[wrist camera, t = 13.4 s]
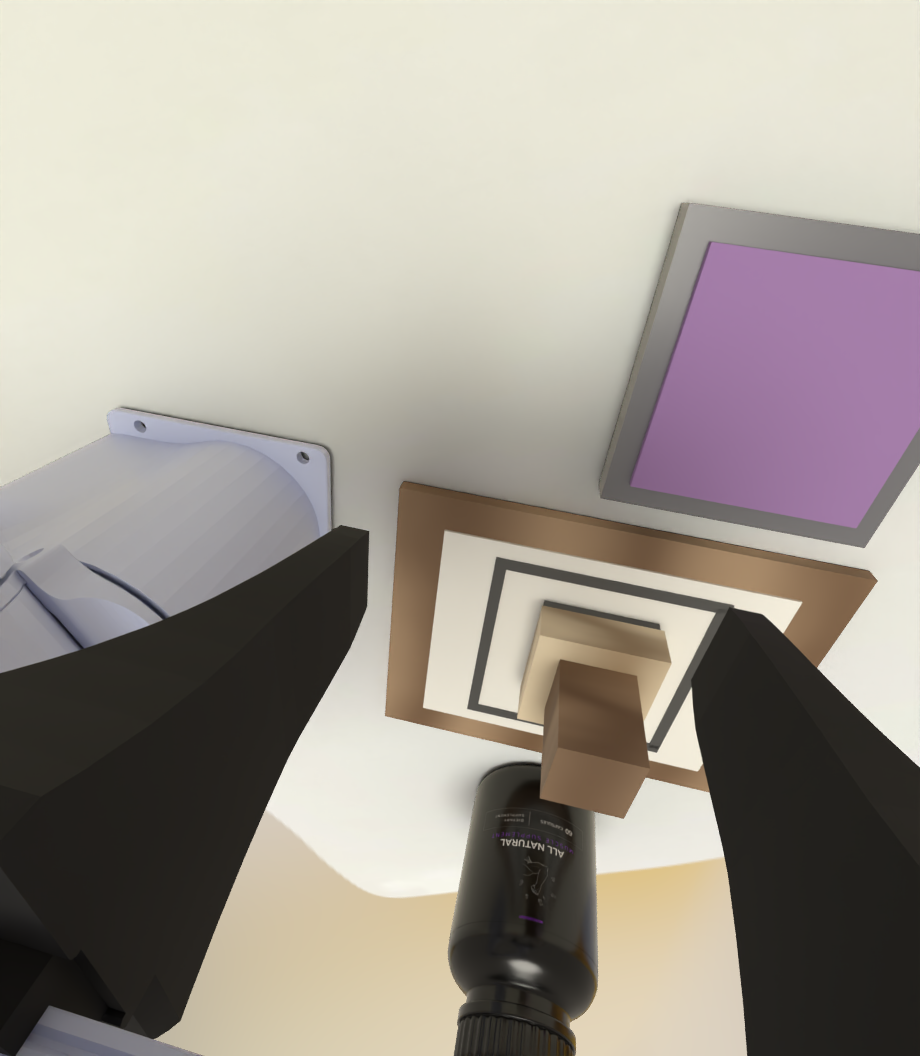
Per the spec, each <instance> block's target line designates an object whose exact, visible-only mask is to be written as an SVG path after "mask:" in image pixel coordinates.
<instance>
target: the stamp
mask: <svg viewBox="0 0 920 1056" xmlns="http://www.w3.org/2000/svg"><path fill="white" fill-rule="evenodd" d="M671 664H672V662H671V658H670V653H669V649H668V644H667V640H666V635H665V631H662V630H661V629H660V624H657V623H652V622H647V621H642V620H638V619H633V618H628V617H623V616H618V615H614V614H609V613H604V612H599V611H594V610H590V609H585V608H580V607H575V606H570V605H566V604H561V603H556V602H551V601H546V600H544V604H543V605H542V608H541V611H540V615H539V619H538V623H537V626H536V630H535V634H534V638H533V641H532V645H531V649H530V653H529V657H528V660H527V664H526V668H525V672H524V675H523V679H522V683H521V687H520V696H519V705H518V715H517V719H521V720H526V721H530V722H534V723H539V724H543V725H544V728H543V747H542V765H541V784H540V799H545V800H549V801H553V802H557V803H561V804H565V805H569V806H573V807H578V808H582V809H586V810H590V811H594V812H598V813H602V814H606V815H610V816H615V817H619V818H623V819H624V817H625V815H626V813H627V811H628V810H629V808H630V806H631V804H632V802H633V800H634V798H635V796H636V795H637V793H638V791H639V789H640V787H641V785H642V783H643V781H644V779H645V778H646V776H647V774H648V772H649V770H650V764H649V757H648V750H647V743H646V736H645V729H644V720H645V718H646V716H647V714H648V712H649V710H650V708H651V706H652V704H653V701H654V699H655V697H656V695H657V693H658V691H659V689H660V687H661V685H662V683H663V681H664V679H665V676H666V674H667V672H668V670H669V668H670V666H671Z"/></svg>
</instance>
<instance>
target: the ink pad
mask: <svg viewBox="0 0 920 1056" xmlns="http://www.w3.org/2000/svg"><path fill="white" fill-rule="evenodd" d="M919 464H920V234H915V233H907V232H900V231H893V230H885V229H878V228H871V227H864V226H856V225H849V224H842V223H834V222H827V221H820V220H812V219H805V218H798V217H790V216H783V215H776V214H769V213H761V212H754V211H747V210H739V209H732V208H725V207H717V206H710V205H703V204H695V203H682V204H681V207H680V211H679V214H678V217H677V221H676V224H675V228H674V231H673V234H672V238H671V241H670V245H669V248H668V251H667V255H666V258H665V261H664V265H663V268H662V272H661V275H660V278H659V282H658V285H657V289H656V292H655V295H654V299H653V302H652V305H651V309H650V312H649V316H648V319H647V322H646V326H645V329H644V333H643V336H642V339H641V343H640V346H639V349H638V353H637V356H636V360H635V363H634V366H633V370H632V373H631V377H630V380H629V383H628V387H627V390H626V393H625V397H624V400H623V404H622V407H621V410H620V414H619V417H618V421H617V424H616V427H615V431H614V434H613V437H612V441H611V444H610V448H609V451H608V454H607V458H606V461H605V465H604V468H603V471H602V475H601V478H600V481H599V489H600V498H603V499H608V500H613V501H619V502H624V503H629V504H634V505H640V506H645V507H650V508H655V509H661V510H666V511H671V512H677V513H682V514H687V515H692V516H698V517H703V518H708V519H713V520H719V521H724V522H729V523H735V524H740V525H745V526H750V527H756V528H761V529H766V530H772V531H777V532H782V533H787V534H793V535H798V536H803V537H808V538H814V539H819V540H824V541H830V542H835V543H840V544H845V545H851V546H856V547H861V548H865V546H866V545H867V543H868V542H869V540H870V539H871V537H872V536H873V534H874V533H875V531H876V530H877V528H878V527H879V525H880V523H881V522H882V520H883V519H884V517H885V516H886V514H887V513H888V511H889V510H890V508H891V507H892V505H893V504H894V502H895V501H896V499H897V498H898V496H899V494H900V493H901V491H902V490H903V488H904V487H905V485H906V484H907V482H908V481H909V479H910V478H911V476H912V475H913V473H914V472H915V470H916V468H917V467H918V465H919Z"/></svg>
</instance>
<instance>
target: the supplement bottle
mask: <svg viewBox="0 0 920 1056" xmlns="http://www.w3.org/2000/svg"><path fill="white" fill-rule="evenodd" d="M540 784H541V766H535V765H512V766H506V767H503V768H500V769H498V770H495V771H493V772H492V773H490V774H489V775H488V776H486V777H485V778H484V779H483V781H482V782H481V783H480V785H479V787H478V790H477V793H476V797H475V802H474V807H473V812H472V818H471V823H470V829H469V834H468V840H467V845H466V851H465V856H464V862H463V867H462V873H461V878H460V884H459V889H458V895H457V901H456V906H455V912H454V917H453V922H452V928H451V933H450V940H449V947H448V960H449V966H450V969H451V972H452V975H453V978H454V979H455V982H456V983H457V985H458V986H459V988H460V989H461V990H462V992H463V993H464V994H465V995H466V996H467V1001H466V1003H465V1004H463V1005H462V1006H461V1007H460V1009H459V1015H458V1022H457V1025H458V1032H457V1038H456V1045H455V1051H454V1056H575V1054H576V1038H575V1035H574V1033H573V1032H572V1030H570V1028H569V1027H570V1022H571V1021H573V1020H575V1019H577V1018H578V1017H580V1016H581V1015H583V1014H584V1013H585V1012H586V1011H587V1010H588V1008H589V1007H590V1005H591V1003H592V1002H593V999H594V997H595V995H596V991H597V986H598V946H597V897H596V849H595V816H594V811H590V810H586V809H582V808H578V807H573V806H569V805H565V804H561V803H557V802H553V801H549V800H545V799H540Z"/></svg>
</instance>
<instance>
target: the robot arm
mask: <svg viewBox="0 0 920 1056" xmlns="http://www.w3.org/2000/svg"><path fill="white" fill-rule="evenodd" d="M107 421H108V425H109V428H110V432H111V434H109V435H107V436H105V437H103V438H101V439H99V440H97V441H94V442H92V443H90V444H88V445H86V446H84V447H82V448H80V449H78V450H76V451H74V452H72V453H70V454H68V455H66V456H64V457H62V458H59V459H57V460H55V461H53V462H51V463H49V464H47V465H45V466H43V467H41V468H39V469H37V470H35V471H33V472H31V473H29V474H27V475H24V476H22V477H20V478H18V479H16V480H14V481H12V482H10V483H8V484H6V485H4V486H2V487H0V1056H202V1055H199V1054H196V1053H193V1052H190V1051H187V1050H184V1049H181V1048H178V1047H175V1046H172V1045H169V1044H166V1043H162V1042H159V1041H156V1040H153V1039H155V1038H157V1037H159V1036H160V1035H162V1034H164V1033H165V1032H167V1031H168V1030H170V1029H171V1028H172V1027H173V1026H175V1025H176V1024H177V1023H178V1022H180V1020H181V1018H182V1015H183V1013H184V1010H185V1007H186V1004H187V1002H188V999H189V996H190V994H191V991H192V988H193V985H194V983H195V981H196V978H197V975H198V973H199V970H200V968H201V965H202V962H203V960H204V957H205V955H206V952H207V949H208V947H209V944H210V942H211V939H212V936H213V933H214V931H215V929H216V926H217V924H218V921H219V919H220V916H221V914H222V911H223V909H224V906H225V904H226V901H227V899H228V896H229V894H230V892H231V889H232V887H233V884H234V882H235V879H236V877H237V874H238V872H239V869H240V867H241V865H242V862H243V859H244V857H245V855H246V853H247V850H248V848H249V845H250V843H251V841H252V839H253V836H254V834H255V832H256V829H257V827H258V825H259V822H260V820H261V818H262V815H263V813H264V811H265V808H266V806H267V804H268V802H269V800H270V797H271V795H272V793H273V791H274V788H275V786H276V784H277V782H278V779H279V777H280V775H281V773H282V771H283V768H284V766H285V764H286V762H287V760H288V758H289V756H290V754H291V752H292V750H293V748H294V746H295V744H296V742H297V740H298V738H299V737H300V735H301V733H302V731H303V730H304V728H305V726H306V724H307V723H308V721H309V719H310V717H311V716H312V714H313V712H314V711H315V709H316V707H317V705H318V704H319V702H320V700H321V698H322V697H323V695H324V693H325V691H326V690H327V688H328V686H329V684H330V683H331V681H332V679H333V677H334V676H335V674H336V672H337V670H338V669H339V667H340V665H341V663H342V661H343V660H344V658H345V656H346V654H347V653H348V651H349V649H350V647H351V645H352V642H353V640H354V638H355V635H356V633H357V630H358V628H359V626H360V623H361V621H362V618H363V615H364V613H365V610H366V608H367V591H368V553H369V531H366V530H361V529H357V528H352V527H347V526H342V525H340V526H339V527H337V528H335V529H333V530H332V529H331V471H330V455H329V453H328V452H327V450H326V449H325V448H323V447H321V446H319V445H314V444H309V443H304V442H298V441H293V440H288V439H283V438H277V437H272V436H267V435H262V434H256V433H251V432H246V431H240V430H235V429H230V428H225V427H219V426H214V425H209V424H204V423H198V422H193V421H188V420H182V419H177V418H172V417H167V416H161V415H156V414H151V413H146V412H140V411H135V410H130V409H124V408H115V409H113V410H111V411H109V412H108V414H107ZM141 422H143V423H144V424H145V426H146V428H144V427H143V426H142V424H141ZM301 452H304V453H306V454H307V455H308V457H309V460H306V459H304V458H303V457H302V455H301ZM691 686H692V700H693V712H694V721H695V730H696V734H697V739H698V744H699V748H700V752H701V757H702V761H703V766H704V770H705V774H706V778H707V783H708V787H709V791H710V795H711V800H712V804H713V808H714V812H715V817H716V821H717V825H718V829H719V834H720V838H721V842H722V846H723V851H724V857H725V862H726V867H727V872H728V878H729V885H730V893H731V901H732V909H733V916H734V924H735V932H736V940H737V948H738V958H739V968H740V978H741V987H742V996H743V1006H744V1019H745V1032H746V1045H747V1056H920V767H919V766H917V765H916V764H915V763H914V762H913V761H912V760H911V759H910V758H909V757H908V756H906V755H905V754H904V753H903V752H902V751H901V750H900V749H899V748H898V747H897V746H896V745H895V744H894V743H892V742H891V741H890V740H889V739H888V738H887V737H886V736H885V735H884V734H883V733H882V732H881V731H879V730H878V729H877V728H876V727H875V726H874V725H873V724H872V723H871V722H870V721H869V720H868V719H867V718H866V717H865V716H864V715H863V714H862V713H861V712H860V711H859V710H858V709H857V708H856V707H855V706H854V705H853V704H852V703H851V702H850V701H849V700H848V699H847V698H846V697H845V696H844V695H843V694H842V693H841V692H840V691H839V690H838V689H837V688H836V687H835V686H834V685H833V684H832V683H831V682H830V681H829V680H828V679H827V678H826V677H825V676H824V675H823V674H822V673H821V672H820V671H819V670H818V669H817V668H816V667H815V666H814V665H813V664H812V663H811V662H810V661H809V660H808V659H807V657H806V656H805V655H804V654H803V653H802V652H801V651H800V650H799V649H798V648H797V647H796V646H795V645H794V644H793V643H792V642H791V641H790V640H789V639H788V638H787V637H786V636H785V635H784V634H783V633H782V632H781V631H780V630H779V629H778V628H777V627H776V626H775V625H774V624H773V623H772V622H771V621H770V620H768V619H767V618H766V617H765V616H764V615H763V614H760V613H755V612H750V611H745V610H741V609H736V608H731V607H729V609H728V611H727V613H726V615H725V616H724V618H723V620H722V622H721V624H720V626H719V628H718V630H717V632H716V633H715V635H714V637H713V639H712V641H711V643H710V645H709V647H708V649H707V651H706V652H705V654H704V656H703V658H702V660H701V662H700V664H699V666H698V668H697V669H696V671H695V673H694V675H693V677H692V679H691Z"/></svg>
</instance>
